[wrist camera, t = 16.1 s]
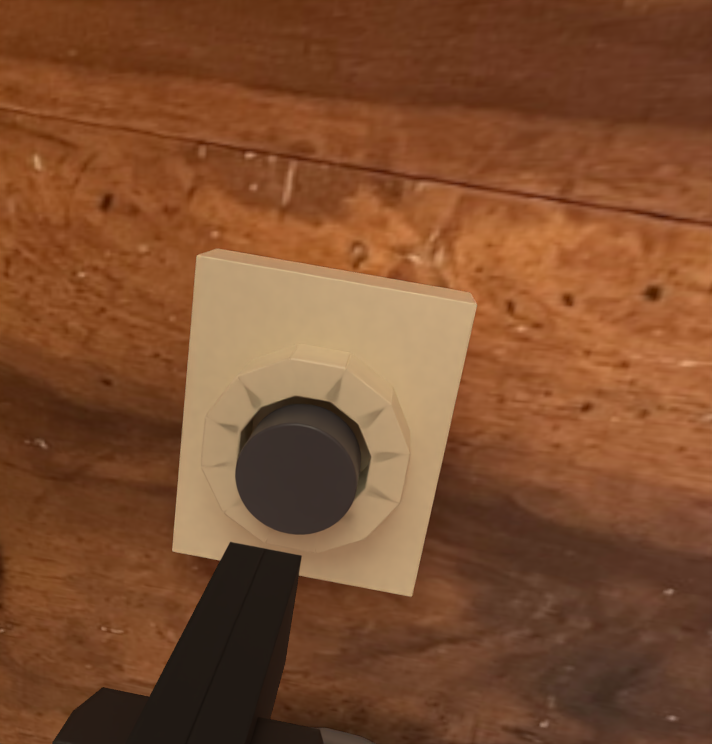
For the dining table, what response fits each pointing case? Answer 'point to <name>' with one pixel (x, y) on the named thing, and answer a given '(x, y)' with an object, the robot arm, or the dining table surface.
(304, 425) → the timer button
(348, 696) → the dining table surface
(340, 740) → the pie
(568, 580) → the dining table surface
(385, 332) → the timer
